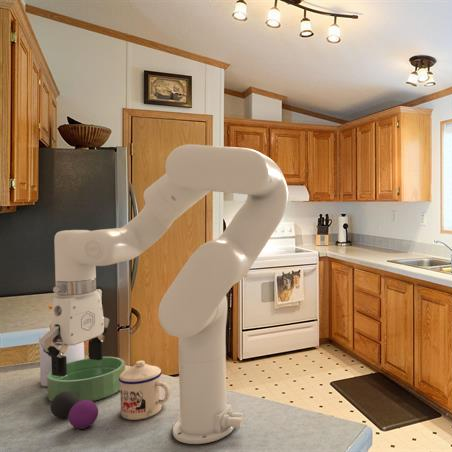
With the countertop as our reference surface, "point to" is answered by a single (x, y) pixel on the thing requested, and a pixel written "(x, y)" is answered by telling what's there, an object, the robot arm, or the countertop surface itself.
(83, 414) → the purple ball
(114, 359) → the green bowl
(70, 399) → the charcoal ball
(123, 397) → the teacup with lid
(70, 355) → the soap bottle
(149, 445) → the countertop surface
